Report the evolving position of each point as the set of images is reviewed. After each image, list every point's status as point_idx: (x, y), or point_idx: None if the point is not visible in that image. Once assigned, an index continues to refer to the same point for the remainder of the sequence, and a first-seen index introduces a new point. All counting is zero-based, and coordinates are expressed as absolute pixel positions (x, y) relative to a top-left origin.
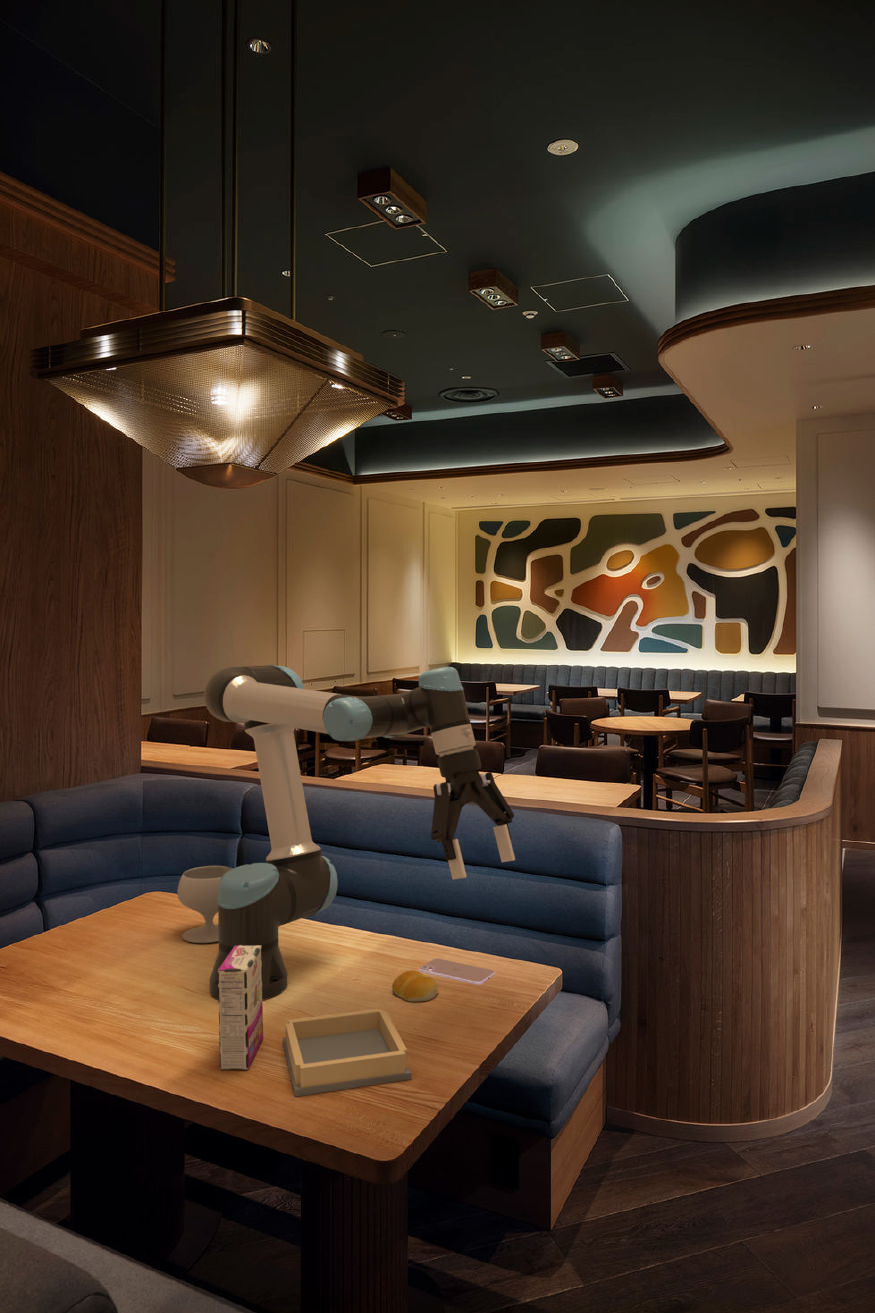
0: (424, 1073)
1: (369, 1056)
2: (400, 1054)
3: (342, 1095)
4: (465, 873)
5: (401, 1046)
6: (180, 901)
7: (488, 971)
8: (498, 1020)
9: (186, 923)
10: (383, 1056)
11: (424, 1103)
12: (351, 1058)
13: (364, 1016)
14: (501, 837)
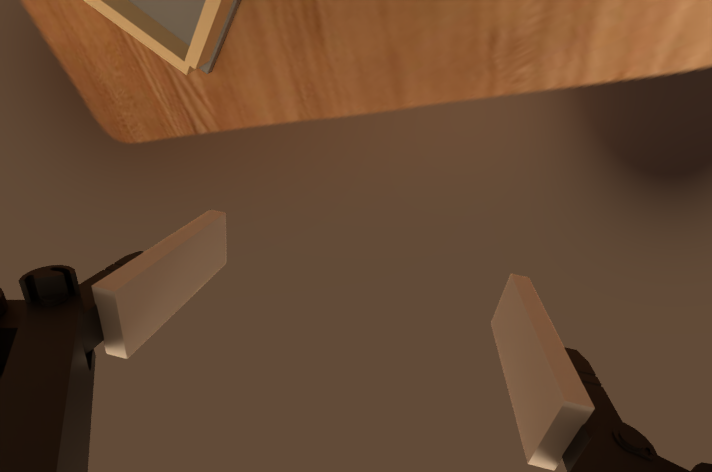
0: (235, 76)
1: (136, 31)
2: (180, 69)
3: None
4: (217, 269)
5: (194, 54)
6: None
7: None
8: (441, 78)
9: None
10: (155, 51)
11: (193, 118)
12: (109, 9)
13: None
14: (524, 377)
